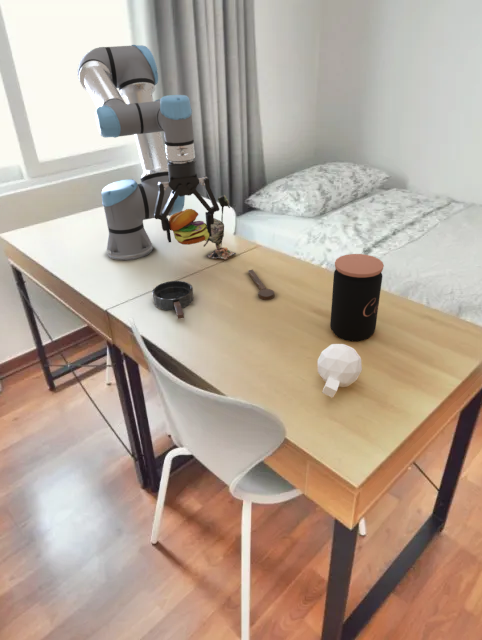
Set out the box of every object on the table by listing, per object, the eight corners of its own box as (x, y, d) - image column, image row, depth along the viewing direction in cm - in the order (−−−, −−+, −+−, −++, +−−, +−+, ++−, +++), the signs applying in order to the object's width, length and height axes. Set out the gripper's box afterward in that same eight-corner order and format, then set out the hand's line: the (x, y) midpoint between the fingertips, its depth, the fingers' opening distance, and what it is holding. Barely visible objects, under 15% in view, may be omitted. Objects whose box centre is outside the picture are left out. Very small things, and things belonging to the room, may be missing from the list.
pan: (152, 295, 132) (150, 284, 130) (189, 289, 134) (188, 278, 132) (156, 314, 123) (154, 302, 121) (197, 307, 125) (196, 295, 123)
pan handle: (174, 311, 124) (173, 301, 122) (180, 310, 124) (179, 300, 122) (178, 325, 118) (177, 315, 116) (185, 324, 118) (183, 314, 116)
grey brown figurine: (216, 247, 160) (211, 189, 149) (239, 255, 153) (236, 195, 142) (198, 254, 155) (192, 195, 144) (221, 263, 148) (216, 202, 137)
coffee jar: (365, 348, 106) (374, 278, 96) (322, 335, 111) (327, 267, 101) (380, 326, 113) (390, 258, 104) (339, 315, 118) (345, 250, 109)
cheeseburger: (205, 247, 129) (193, 213, 124) (171, 253, 133) (158, 221, 128) (214, 232, 137) (203, 200, 133) (182, 239, 141) (170, 208, 136)
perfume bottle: (318, 355, 101) (302, 394, 93) (332, 327, 95) (316, 366, 86) (355, 372, 100) (342, 413, 91) (372, 345, 93) (359, 387, 85)
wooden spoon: (243, 274, 141) (243, 271, 140) (257, 272, 142) (257, 268, 141) (261, 301, 126) (261, 297, 126) (276, 298, 127) (276, 294, 127)
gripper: (137, 168, 117) (150, 248, 129) (227, 158, 122) (231, 236, 134) (135, 161, 123) (147, 238, 135) (220, 152, 128) (225, 227, 140)
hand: (189, 237), depth 134 cm, fingers closed on cheeseburger, 11 cm apart
